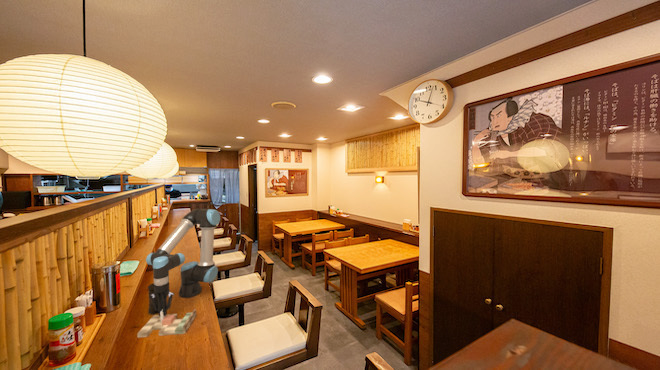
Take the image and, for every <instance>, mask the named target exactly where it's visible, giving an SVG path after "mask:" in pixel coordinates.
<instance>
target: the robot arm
mask: <svg viewBox="0 0 660 370" xmlns="http://www.w3.org/2000/svg"><path fill="white" fill-rule="evenodd" d="M220 222H221V214H220V212H219V211H218V210H217V209H212V208H195V209H192V210H191V211H189V212H188V213H186V214H185V215H184V216H183V217H182V218H181V220H180V223H179V224H178V225H177V226H176V228H174V230H173V231H172V232H171V233H170V234H169V236H168V237H166V239H165V240H164V242H163V243H162V244H161V245H160V246H159V248H157V250H156V251H155V252H150V253H149V254H148V255H147V256H146V258H145V262H146V264H147V265H149V266H152V271H153V272H152V273H153V283H154V294H152V295H151V296H150V299H151V300H152V303H153V306H154V309H155V311H158V312H159V313H158V315H159V316H160V319H161V322H162V320H163V319H164V318H165V316H166V315H167V314H168V313H167V311H168V310H170V308H171V305H172V300H173V297H174V295H175V292H171V290H170V271H171V270H172V269H175V268H177V267H179V266H180V265H181V266H180V271H179V272H180V287H179V290H178V296H179V298H184V299H188V298H192V297H195V296H198V295H199V294H201V293H202V291H201V290H202V285H201V283H212V282H213V281H214V280H216V278H217V277H218V272H219V269H218V267H217V265H215V264H216V262H215V261H214V259H213V258H214V242H215V241H214V239H215V229H216V228H217V226H218V225H219V224H220ZM195 225H199V227H198V228H199V229H200V230H201V232H200V233H201V235H200V252H199V253H200V254H199V255H200V256H199V262H198V261H196V260H195V261H193V260H192V261H189V262H187V263H186V262H185V261H186V256H185V254H183V253H182V252H178V253H175V254H172V252H173V250H174V249H175V248H176V247H177V246H178V245H179V243H180V242H181V240H182V239H183V238H184V236H185V235H186V234H187V233H188V232H189V230H190V229H192V228H194V227H195ZM200 282H201V283H200ZM155 296H156V297H157V299H156V297H155ZM167 298H168V299H167ZM157 301H158V302H157ZM162 302H163V308H162Z"/></svg>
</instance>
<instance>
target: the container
mask: <svg viewBox="0 0 660 370" xmlns="http://www.w3.org/2000/svg"><path fill="white" fill-rule="evenodd" d="M147 290H148V311H147V312H148V315H150V316H151V315H152V316H154V315H159V312H158V311H155V309H154V306H153V303H152V300H151V299H150V296H151V295H152V294H154V282H153V283H151V284H148V286H147ZM155 297H156V296H155ZM156 299H157V297H156ZM157 302H158V301H157ZM162 308H163V302H162Z"/></svg>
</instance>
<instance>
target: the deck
mask: <svg viewBox="0 0 660 370" xmlns="http://www.w3.org/2000/svg"><path fill="white" fill-rule="evenodd" d="M167 315H175V320H174V322H173V323H172V324H171V325H162V322H161V319H160V316H159V314H154V315H152V317H150V319H149V320H148V321H147V322H146V324H144V326H143V327H142V328H141V329H140V330H138V332H137V334H136V335H137V338H138V339H139V338H148V337H149V336H150V335H151V334H152V332H153V331H154V330H155V331H157V330H159V331H158V336H159V337H160V336H161V337H162V336H169V335H170V336H171V335H185V334H186V333H187V332H188V330H189V328H190V326H191V325H192V323H193V322H194V320H195V318H196V317H197V309H195V308H194V309H193V310H192V312H186V314H185V315H184V317H183V318H178V313H167Z"/></svg>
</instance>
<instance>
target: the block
mask: <svg viewBox="0 0 660 370" xmlns="http://www.w3.org/2000/svg"><path fill="white" fill-rule="evenodd" d="M174 320H175V315H166V316H165V318H164V319H163V320H162V325H171V324H172V323H173V322H174Z"/></svg>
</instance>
